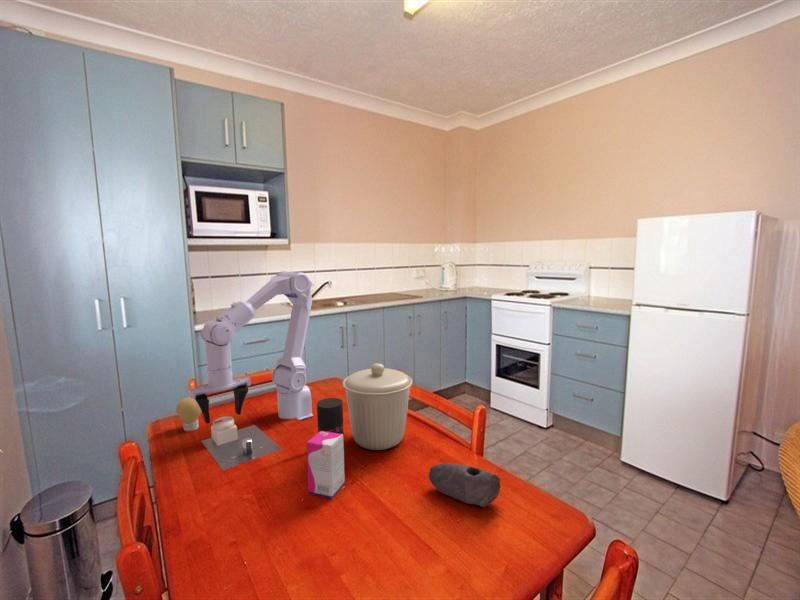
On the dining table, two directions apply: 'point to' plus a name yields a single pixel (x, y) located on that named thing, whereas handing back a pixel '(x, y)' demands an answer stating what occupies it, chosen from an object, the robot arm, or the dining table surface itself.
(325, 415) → the deodorant
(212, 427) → the knob
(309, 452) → the supplement box
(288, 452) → the dining table surface
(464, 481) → the perforated stone tool
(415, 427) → the dining table surface
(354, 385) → the canister
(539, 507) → the dining table surface
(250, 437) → the panel
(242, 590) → the dining table surface
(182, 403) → the light bulb
